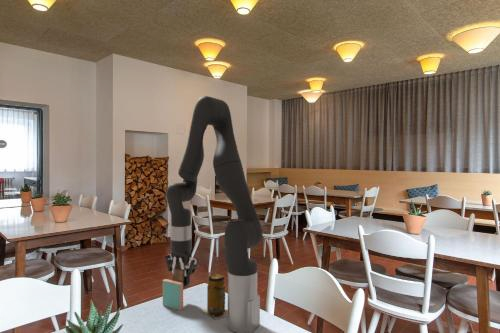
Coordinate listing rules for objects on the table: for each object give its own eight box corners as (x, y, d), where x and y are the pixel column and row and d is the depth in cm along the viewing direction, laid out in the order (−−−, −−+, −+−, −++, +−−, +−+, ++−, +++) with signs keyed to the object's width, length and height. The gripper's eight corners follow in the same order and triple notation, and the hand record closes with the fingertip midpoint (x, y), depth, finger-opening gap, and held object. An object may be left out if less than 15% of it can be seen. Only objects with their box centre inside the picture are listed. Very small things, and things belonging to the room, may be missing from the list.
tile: (183, 308, 113) (183, 282, 112) (180, 310, 111) (180, 284, 111) (165, 303, 116) (165, 278, 116) (162, 305, 115) (162, 280, 115)
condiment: (219, 304, 116) (219, 271, 115) (233, 313, 109) (233, 278, 109) (201, 310, 111) (201, 276, 111) (215, 320, 104) (215, 283, 104)
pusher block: (189, 286, 118) (189, 267, 118) (182, 290, 115) (182, 270, 115) (180, 284, 120) (180, 265, 120) (173, 288, 117) (173, 268, 117)
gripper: (203, 237, 117) (203, 284, 118) (173, 233, 124) (173, 277, 124) (190, 242, 111) (190, 291, 111) (159, 237, 117) (159, 284, 118)
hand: (181, 284), depth 118 cm, fingers closed on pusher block, 4 cm apart
